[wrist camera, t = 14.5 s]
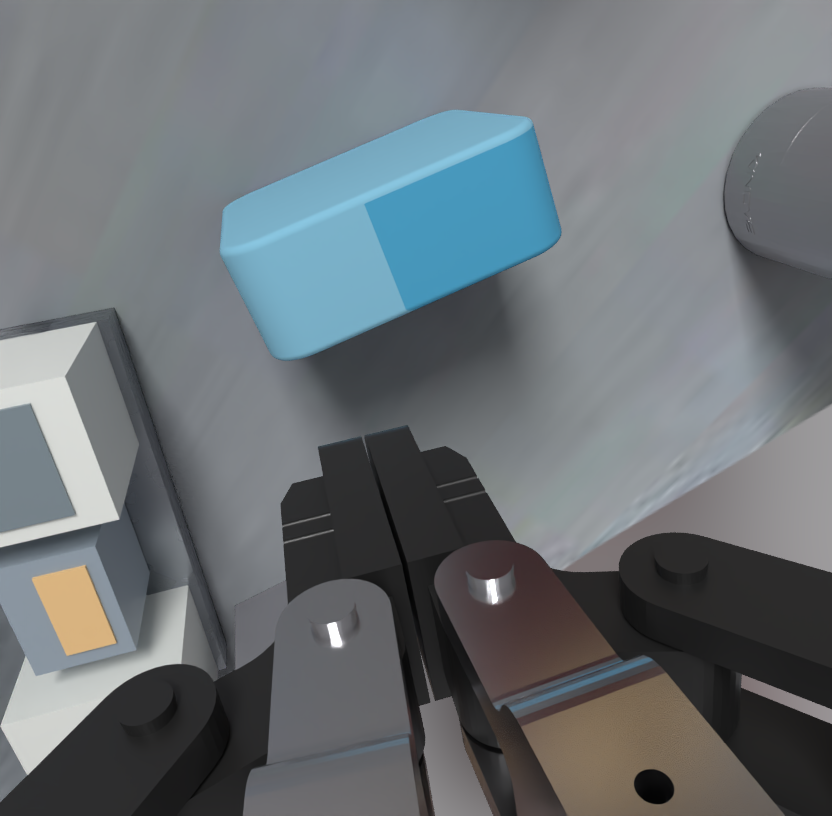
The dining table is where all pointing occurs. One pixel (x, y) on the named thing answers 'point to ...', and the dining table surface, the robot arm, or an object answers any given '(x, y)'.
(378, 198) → the data package
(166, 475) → the rail
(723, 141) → the dining table surface
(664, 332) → the dining table surface
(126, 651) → the block
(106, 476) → the mounted modules
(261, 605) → the block
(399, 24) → the dining table surface
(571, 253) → the dining table surface
